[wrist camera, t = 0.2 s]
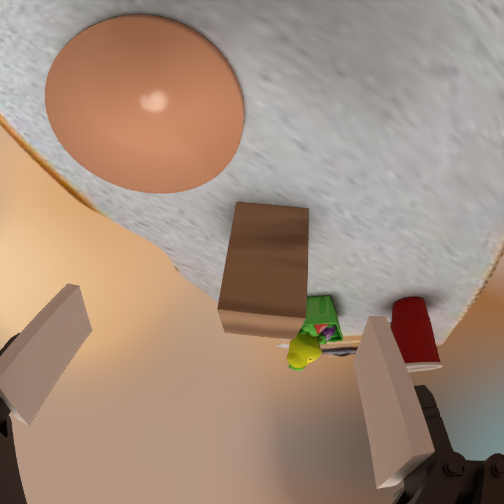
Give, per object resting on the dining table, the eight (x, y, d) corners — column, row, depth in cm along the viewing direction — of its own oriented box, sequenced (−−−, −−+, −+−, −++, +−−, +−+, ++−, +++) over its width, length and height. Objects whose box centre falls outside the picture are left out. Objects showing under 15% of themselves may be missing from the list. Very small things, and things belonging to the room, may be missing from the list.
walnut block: (236, 201, 29) (217, 309, 23) (308, 208, 28) (306, 318, 23) (239, 240, 35) (224, 332, 29) (299, 246, 34) (294, 339, 29)
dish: (29, 46, 13) (20, 53, 13) (242, 1, 12) (239, 4, 12) (90, 183, 28) (85, 191, 27) (246, 189, 27) (244, 198, 26)
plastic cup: (365, 307, 49) (366, 375, 42) (411, 285, 40) (417, 363, 34) (404, 317, 51) (407, 377, 45) (447, 298, 43) (454, 365, 36)
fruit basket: (344, 315, 53) (343, 374, 47) (298, 317, 56) (294, 375, 50) (336, 291, 44) (335, 364, 38) (281, 295, 47) (275, 364, 41)
